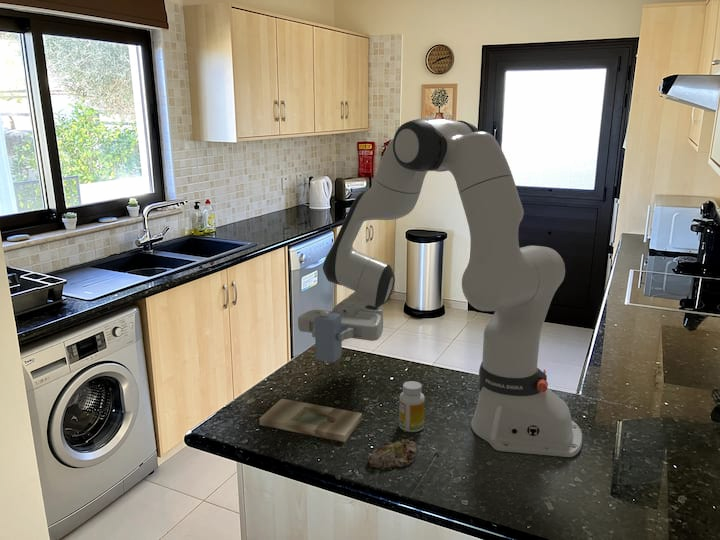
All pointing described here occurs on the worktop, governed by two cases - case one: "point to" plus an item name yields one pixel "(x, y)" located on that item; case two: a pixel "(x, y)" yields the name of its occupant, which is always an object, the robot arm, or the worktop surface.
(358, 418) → the board
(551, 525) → the worktop surface
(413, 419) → the supplement bottle
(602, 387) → the worktop surface
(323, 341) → the block
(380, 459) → the mineral rock
